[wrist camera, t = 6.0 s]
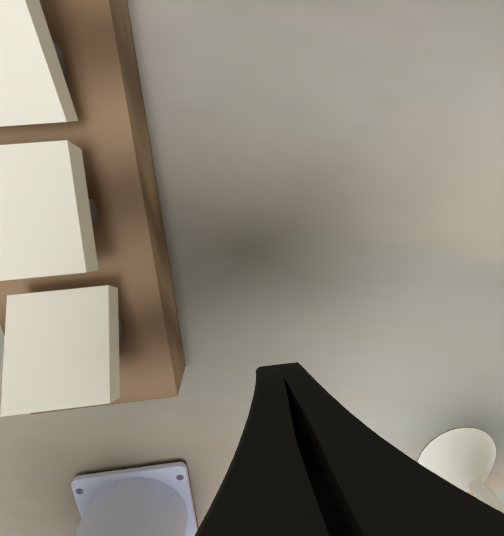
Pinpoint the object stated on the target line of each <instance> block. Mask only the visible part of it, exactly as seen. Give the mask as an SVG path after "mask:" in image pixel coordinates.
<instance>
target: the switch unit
mask: <svg viewBox="0 0 504 536" xmlns="http://www.w3.org/2000/svg"><path fill="white" fill-rule="evenodd" d="M39 1H40V4H41V7H42V10H43V13H44V17H45V20H46V23H47V26H48V29H49V32H50V35H51V38H52V41H53V44H54V47H55V50H56V53H57V57H58V60H59V63H60V66H61V69H62V72H63V75H64V78H65V81H66V84H67V87H68V90H69V93H70V97H71V100H72V103H73V106H74V109H75V112H76V115H77V118H78V121H71V122H59V123H44V124H30V125H16V126H2V127H0V145H8V144H22V143H35V142H49V141H62V140H68V141H69V142H71V143H73V144H74V145H76V146H77V147H79V148H80V149H82V156H83V163H84V170H85V177H86V184H87V191H88V199H89V206H90V213H91V220H92V227H93V234H94V241H95V248H96V255H97V262H98V269H99V270H97V271H92V272H86V273H76V274H66V275H56V276H45V277H35V278H25V279H15V280H5V281H0V324H1V327H2V330H3V333H4V336H5V322H6V303H7V295H16V294H26V293H36V292H46V291H56V290H66V289H76V288H86V287H96V286H105V285H109V286H113V287H116V288H118V318H119V371H120V398H118V399H116V400H115V401H113V402H111V403H109V404H101V405H93V406H85V407H76V408H68V409H60V410H52V411H44V412H36V413H30V414H37V413H45V412H53V411H61V410H69V409H78V408H86V407H94V406H102V405H110V404H118V403H126V402H135V401H143V400H151V399H159V398H167V397H175V396H178V392H179V389H180V385H181V381H182V377H183V373H184V370H185V366H186V365H185V359H184V353H183V347H182V341H181V334H180V328H179V322H178V316H177V309H176V303H175V297H174V291H173V284H172V278H171V272H170V266H169V260H168V253H167V247H166V241H165V235H164V228H163V222H162V216H161V210H160V203H159V197H158V191H157V185H156V179H155V172H154V166H153V160H152V154H151V147H150V141H149V135H148V129H147V122H146V116H145V110H144V104H143V98H142V91H141V85H140V79H139V73H138V66H137V60H136V54H135V48H134V41H133V35H132V29H131V23H130V17H129V10H128V4H127V0H39Z"/></svg>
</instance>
